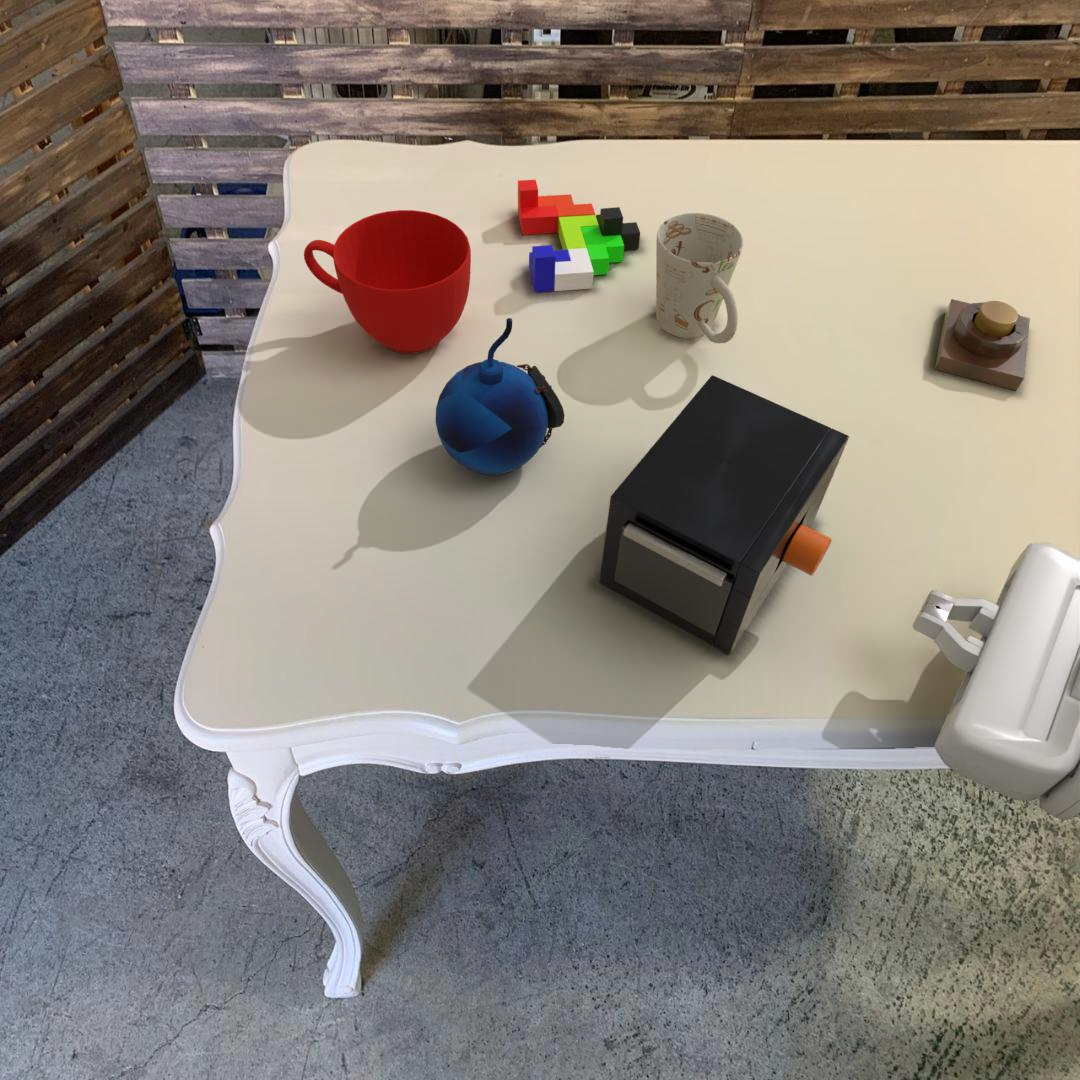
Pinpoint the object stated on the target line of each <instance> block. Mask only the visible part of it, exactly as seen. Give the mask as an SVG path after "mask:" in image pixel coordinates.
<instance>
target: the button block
mask: <svg viewBox="0 0 1080 1080" xmlns="http://www.w3.org/2000/svg"><path fill="white" fill-rule="evenodd" d="M985 302H986V301H983V302H972V303H971V302H966V301H961V300H958V299H953V298H951V299H950V301H949V303H948V306H947V307H946V310H945V313H944V318H943V323H942V329H941V334H940V339H939V345H938V349H937V355H936V360H935V366H934V370H935V371H940V372H943V373H948V374H951V375H955V376H959V377H962V378H966V379H970V380H973V381H977V382H978V381H979V382H982V383H985V384H989V385H993V386H996V387H1001V388H1004V389H1008V390H1013V391H1016V392H1017V391H1018V390H1019V388H1020V385H1021V384H1022V382H1023V381H1024V379H1025V371H1026V361H1027V352H1028V351H1027V350H1028V344H1029V343H1028V342H1029V341H1028V340H1029V331H1030V322H1031V318H1030V317H1028V316H1022V315H1020V314H1019V313H1018V319H1017V321H1016V323H1015V325H1014V326H1013V328H1012V330H1011V332H1010V333H1009V334H1008V335H1007V336H1002V337H997V336H993V335H989V334H986V333H984V332H982V331H981V330H979V329H978V328H977V327H976V326H975V324H974V320H975V318H976V316H977V314H978V312H979V310H980V308H981V306H982V304H984V303H985Z"/></svg>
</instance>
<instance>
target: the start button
mask: <svg viewBox="0 0 1080 1080" xmlns="http://www.w3.org/2000/svg"><path fill="white" fill-rule="evenodd" d="M984 302H985V303H984V304H982V306H981V308H980V310H979V312H978V314H977V316H976V318H975V320H974V324H975V326H976V327H977V328H978V329H979V330H981V331H982V332H984V333H986V334H989V335H993V336H997V337H1002V336H1007V335H1008V334H1009V333H1010V332H1011V330H1012V328H1013V326H1014V325H1015V323H1016V321H1017V319H1018V314H1019V312H1018V311H1017V310H1016V309H1015V307H1013V306H1012V305H1010V304H1008V303H1006V302H1003V301H999V300H988V301H984Z"/></svg>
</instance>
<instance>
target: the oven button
mask: <svg viewBox="0 0 1080 1080" xmlns="http://www.w3.org/2000/svg"><path fill="white" fill-rule="evenodd" d="M831 543H832V538H831V537H829V536H827V535H826V534H823V533H822V532H819V531H817V530H815V529H813V528H811V527H810V528H809V527H807V526H805V525H801V526H800V527H799V528H798V529H797V531H796V533H795V534H794V536H793V538H792V539H791V541H790V543H789V545H788V547H787V549H786V551H785V553H784V556H783V559H782V561H783V562H785V563H787V565H789V566H791V567H793V568H795V569H797V570H799V571H801V572H803V573H806V574H807V575H808V576H814V574H815V572H816V571H817V569H818V568H819V566H820V564H821V562H822V561H823V559H824V557H825V555H826V553H827V551H828V549H829V548H830V546H831Z"/></svg>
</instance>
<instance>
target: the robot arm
mask: <svg viewBox="0 0 1080 1080" xmlns="http://www.w3.org/2000/svg"><path fill="white" fill-rule="evenodd" d="M948 620H949V621H957V622H958V621H959V622H968V623H969V624H968V629H970V630H971V631H973V632H975V633H977V634H979V635H981V637H980V639H978V638H976V637H974V636H972V635H968V637H966V639H965V638H964V637H963V636H962V635H961V633H959V632H958V631H957V630H956V629H955V627H953V626H952V625H951V624H950V623H949V621H948ZM912 628H913V630H915V631H916V632H917V633H920V634H922V635H924V636H925V637H927V638H930V639H932V640H933V643H934V644H935V646H937V647H938V649H939V650H940V652H942V654H943V655H944V656H945V657H946V659H947V660H948V661H949V663H950V664H951V665H953V666H955V667H957V668H959V669H961V670H963V671H965V674H964V676H963V678H962V682H961V683H960V686H959V687H958V690H957V692H956V695H955V697H954V699H953V701H952V704H951V706H950V708H949V710H948V712H947V715H946V716H945V717H946V718H945V720H944V722H943V724H942V727H941V729H940V732H939V733H938V736H937V738H936V741H935V743H934V750H935V752H936V753H937V755H938V756H939V758H940V759H941V761H942V762H943V764H944V765H945V766H946V767H948V768H949V769H951V770H952V771H954V772H956V773H957V774H959V775H961V776H963V777H965V778H967V779H968V780H970V781H972V782H974V783H977V784H978V785H980V786H983V787H984V788H987V789H989V790H990V791H993V792H995V793H998V794H1000V795H1003V796H1005V797H1007V798H1010V799H1013V800H1017V801H1020V802H1021V801H1022V802H1030V801H1036V800H1038V802H1039V806H1040V807H1041V809H1042V810H1043V811H1045V812H1046V813H1047V814H1049V815H1050V816H1052V817H1054V818H1056V819H1058V820H1060V821H1068V820H1070V819H1072V818H1074V817H1076V816H1077V815H1080V558H1079V557H1077V556H1075V555H1074V554H1071V553H1070V552H1068V551H1067V550H1064V549H1063V548H1060V547H1059V546H1056V545H1054V544H1051V543H1050V542H1031V543H1029V544H1028V545H1027V546H1026V547H1025V548H1024V549H1023V550H1022V552H1021V553H1020V554H1019V556H1018V558H1017V559H1016V560H1015V561H1014V563H1013V565H1012V566H1011V568H1010V571H1009V573H1008V575H1007V578H1006V580H1005V582H1004V585H1003V587H1002V589H1001V591H1000V594H999V596H998V598H997V601H996V603H993V602H991V601H989V600H988V599H986V598H985V599H983V598H954V597H952V596H951V595H948V594H946V593H943V592H941V591H939V590H937V589H932V590H930V591H929V593H928V594H927V596H926V597H925V599H924V601H923V603H922V605H921V607H920V610H919V611H918V614H917V616H916V617H915V619H914V621H913V623H912Z"/></svg>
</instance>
